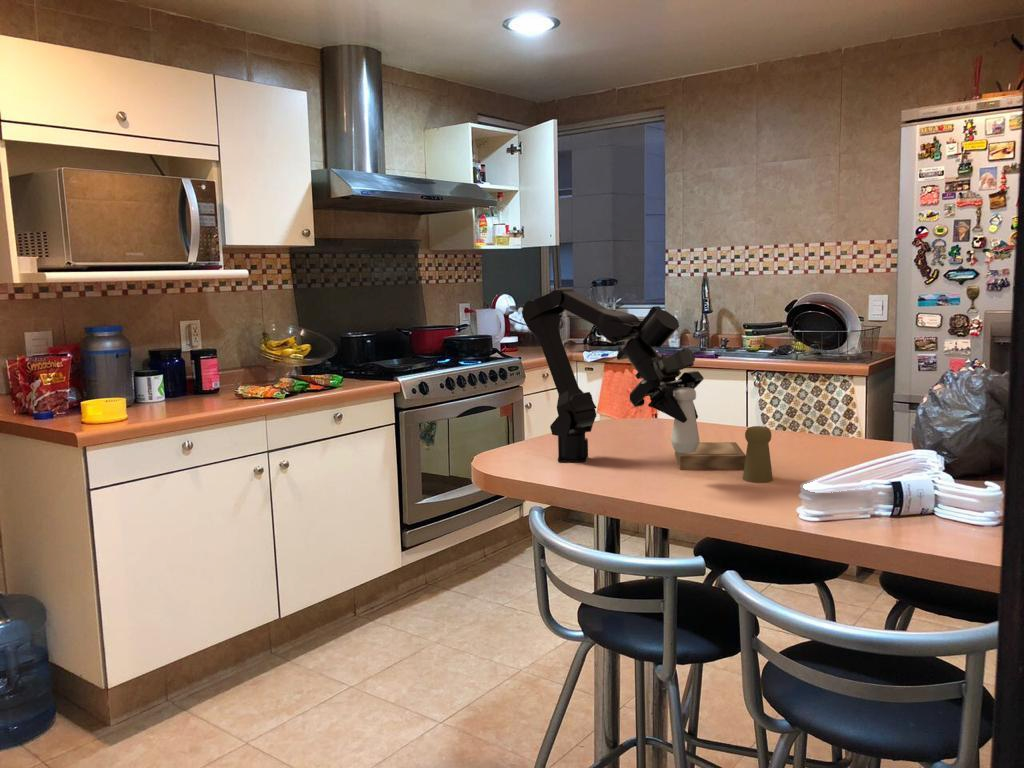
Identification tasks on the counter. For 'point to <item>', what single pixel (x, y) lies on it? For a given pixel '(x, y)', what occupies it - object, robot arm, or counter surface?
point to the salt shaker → (685, 433)
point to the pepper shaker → (758, 455)
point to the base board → (713, 457)
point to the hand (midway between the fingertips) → (690, 420)
